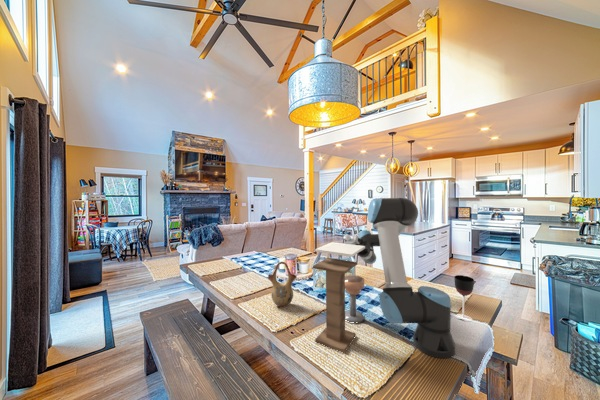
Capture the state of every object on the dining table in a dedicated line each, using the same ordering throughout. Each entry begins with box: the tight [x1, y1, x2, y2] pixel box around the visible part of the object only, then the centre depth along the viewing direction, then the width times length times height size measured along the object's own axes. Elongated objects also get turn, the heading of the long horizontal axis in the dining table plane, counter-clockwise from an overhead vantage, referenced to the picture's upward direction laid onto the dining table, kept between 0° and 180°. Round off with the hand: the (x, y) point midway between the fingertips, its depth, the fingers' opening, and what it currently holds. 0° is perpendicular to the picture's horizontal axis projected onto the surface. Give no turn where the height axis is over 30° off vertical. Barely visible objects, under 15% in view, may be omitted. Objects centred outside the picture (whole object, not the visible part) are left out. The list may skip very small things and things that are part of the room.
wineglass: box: [453, 274, 475, 320], centre depth 120 cm, size 8×9×20 cm
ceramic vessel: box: [267, 261, 298, 308], centre depth 135 cm, size 16×9×25 cm, turn 91°
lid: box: [314, 237, 365, 258], centre depth 115 cm, size 30×17×2 cm, turn 147°
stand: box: [312, 257, 358, 354], centre depth 103 cm, size 14×14×33 cm
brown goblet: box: [345, 274, 365, 323], centre depth 121 cm, size 11×11×20 cm
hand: (350, 236), depth 119 cm, fingers closed on lid, 4 cm apart
